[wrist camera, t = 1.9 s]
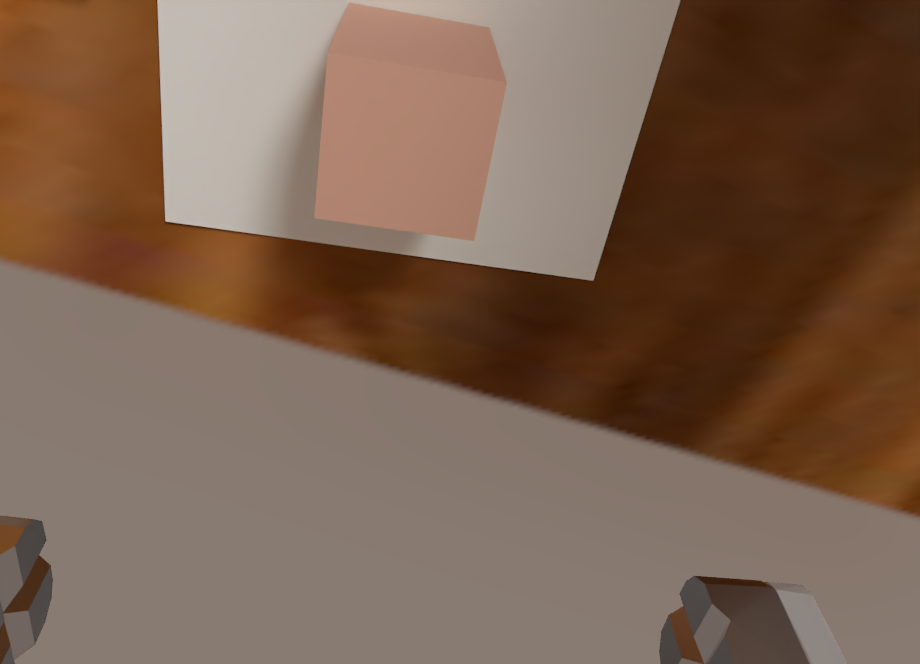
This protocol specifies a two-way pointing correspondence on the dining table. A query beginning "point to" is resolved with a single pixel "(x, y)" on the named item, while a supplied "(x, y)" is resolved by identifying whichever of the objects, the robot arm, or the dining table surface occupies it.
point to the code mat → (515, 148)
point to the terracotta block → (408, 122)
